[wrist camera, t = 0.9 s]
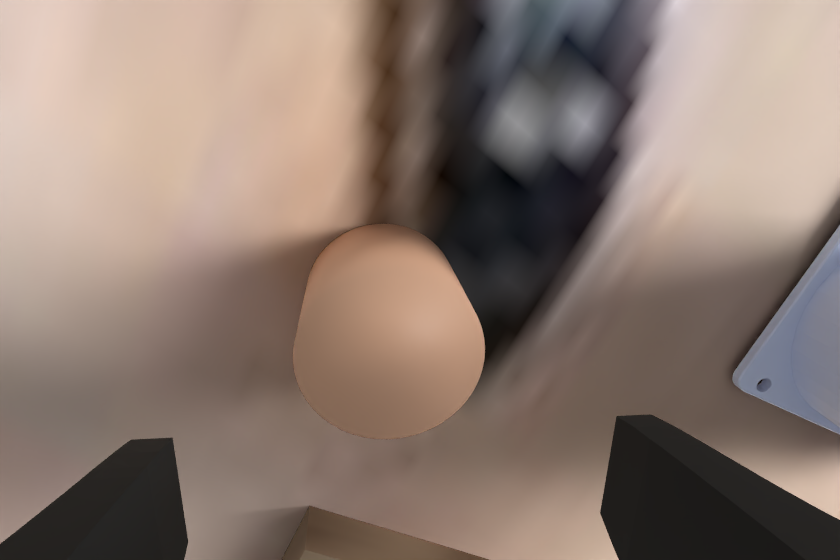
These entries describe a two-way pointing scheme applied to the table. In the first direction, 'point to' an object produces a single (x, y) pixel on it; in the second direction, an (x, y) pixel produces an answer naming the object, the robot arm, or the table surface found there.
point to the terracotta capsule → (386, 335)
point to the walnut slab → (360, 541)
